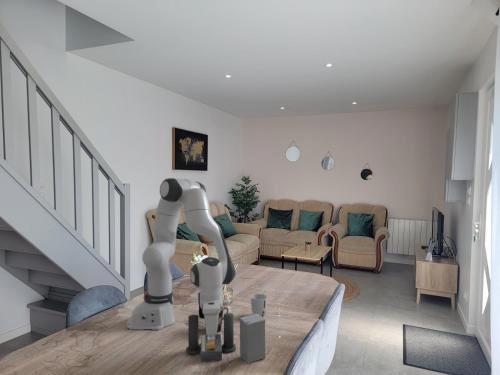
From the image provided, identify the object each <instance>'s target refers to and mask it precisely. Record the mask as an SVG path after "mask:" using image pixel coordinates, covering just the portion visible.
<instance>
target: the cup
mask: <svg viewBox="0 0 500 375" xmlns="http://www.w3.org/2000/svg"><path fill="white" fill-rule="evenodd" d="M267 304H268V296H267V295H266V294H264V293H255V294H251V295H250V306H251V310H252V311H251V312H252V315H253V314H257V313H258V314H259V315H260V316H261V317H263V318H264V317H265V316H266V315H265V314H266V312H267Z"/></svg>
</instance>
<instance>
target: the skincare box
mask: <svg viewBox="0 0 500 375" xmlns="http://www.w3.org/2000/svg"><path fill="white" fill-rule="evenodd" d="M239 356H240V358H241V359H243V361H244V362H245V363H246V364H251V363H254V362H257V361H260V360H262V359H265V358H266V319H265V318H264V317H261V316H260V315H259V314H258V313H257V314H253V313H252V314H249V315H245V316H242V317H240V318H239Z"/></svg>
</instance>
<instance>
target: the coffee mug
mask: <svg viewBox="0 0 500 375" xmlns="http://www.w3.org/2000/svg"><path fill="white" fill-rule="evenodd" d="M224 310H226V313H229V308H228V307H225V306H223V305H222V307H221V310H220V313H219V317H218V327H217V334H219V333H220V332H221V331H222V324H223V321H224Z"/></svg>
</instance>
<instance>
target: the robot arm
mask: <svg viewBox="0 0 500 375" xmlns="http://www.w3.org/2000/svg"><path fill="white" fill-rule="evenodd" d="M159 195H160V199H159V202H158V204H157V208H156V212H155V217H154V222H153V226H152V227H153V242H152V243H151V244H149V245H148V246H147V247H146V248H145V249H144V252H142V253H143V254H142V259H141V260H142V263H143V264H144V265H145V268H146V273H147V284H148V285H147V286H148V289H147V290H146V291H145V292H144V295H143V301H142V302H141V303H140V304H138V305H137V306H136V307H134V309H133V311H132V313H131V316H130V317H129V318H128V319H127V321H126V326H127V327H126V326H125V327H126V329H128V328H129V329H128V330H144V329H152V330H153V331H159V330H162V329H163V328H165V327H168V326H170V325H173V324H174V323H175V322H176V316H175V312H174V291H173V274H172V273H171V269H170V264H169V263H170V260H171V259H172V258H173V256H174V254H175V252H176V244H177V232H178V226H179V221H180V218H181V213H182V212H181V211H182V207H183V208H184V219H185V225H186V227H187V229H189V230H190V231H191V232H192V233H194V234H197V235H199V236H203V237H206V238H208V239H210V240H211V241H212V242H213V243H214V248H215V251H216V253H217V256H218V258H217V257H213V256H212V257H208V256H207V257H205V258H203V259H202V260H201V261H200V262H197V263H195V264H193V265H192V267H190V277H189V279H190V282H191V284H192V285H193V286H195V287H196V288H200V291H199V307H200V308H201V311H202V315H203V317H204V326H205V327H204V328H205V335H208V336H209V338H213V337H214V335H216V334H218V333H217V327H218V317H219V313H220V310H221V307H222V306H223V305H224V304H223V301H224V300H223V299H224V298H223V297H224V296H223V294H224V293H223V289H222V288H223V285H230V284H231V283H232V281H233V280H234V279H235V277H236V269H235V266H234V262H233V261H232V259H231V256H230V252H229V250H228V246H227V242H226V238H225V236H224V233H223V230H222V228H221V226H220V224H219V223H217V222H216V221H215V220H214V218H213V217H212V214H211V207H210V203H209V199H208V195H207V190H206V187H205V185H204V184H203V183H201V182H199V181H195V180H189V179H186V178H183V179H182V178H173V177H170V178H169V177H168V178H165V179H163V181H162V182H161V184H160V185H159ZM152 330H151V331H152Z"/></svg>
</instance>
